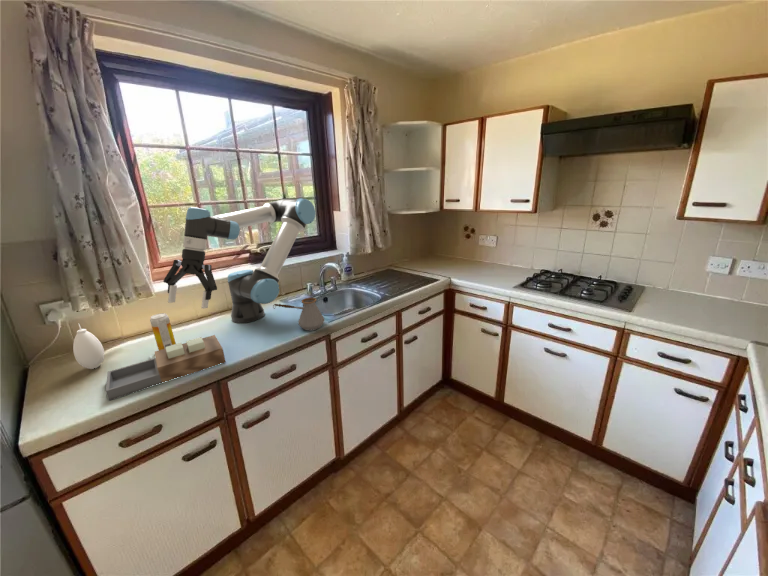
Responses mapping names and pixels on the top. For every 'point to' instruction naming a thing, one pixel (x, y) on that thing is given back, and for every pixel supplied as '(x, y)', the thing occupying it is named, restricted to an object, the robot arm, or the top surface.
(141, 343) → the top surface
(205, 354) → the walnut board
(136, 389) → the box
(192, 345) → the rear tile
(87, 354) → the air blower bulb
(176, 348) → the front tile
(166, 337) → the beer can
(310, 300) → the coffee pot
